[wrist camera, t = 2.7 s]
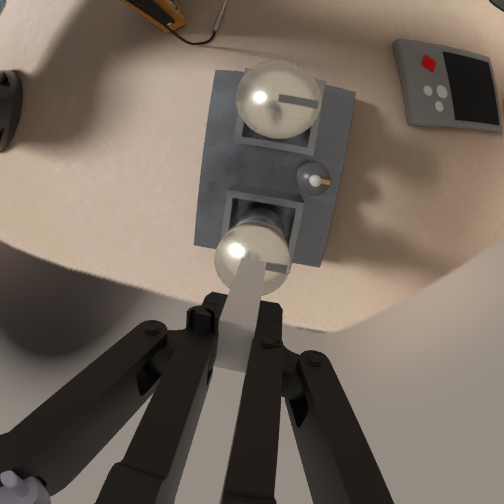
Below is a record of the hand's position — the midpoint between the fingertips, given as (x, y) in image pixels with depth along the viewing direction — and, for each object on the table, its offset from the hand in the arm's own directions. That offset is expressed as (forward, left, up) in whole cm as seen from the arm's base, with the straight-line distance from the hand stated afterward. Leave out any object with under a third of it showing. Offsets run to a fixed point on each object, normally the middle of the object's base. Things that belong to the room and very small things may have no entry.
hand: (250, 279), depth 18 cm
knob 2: (0, 0, -9) cm, 9 cm away
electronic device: (+20, +21, -17) cm, 33 cm away
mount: (0, +6, -16) cm, 17 cm away
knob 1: (0, +11, -9) cm, 15 cm away
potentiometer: (+4, +6, -13) cm, 15 cm away
